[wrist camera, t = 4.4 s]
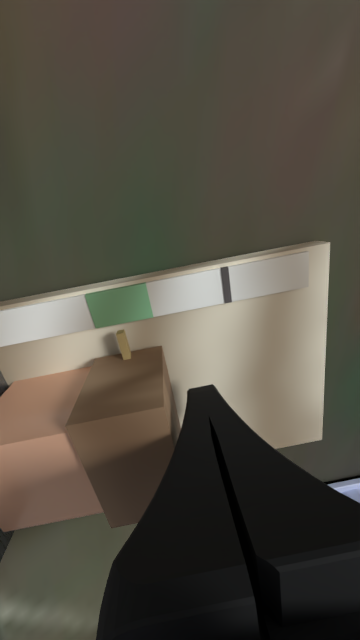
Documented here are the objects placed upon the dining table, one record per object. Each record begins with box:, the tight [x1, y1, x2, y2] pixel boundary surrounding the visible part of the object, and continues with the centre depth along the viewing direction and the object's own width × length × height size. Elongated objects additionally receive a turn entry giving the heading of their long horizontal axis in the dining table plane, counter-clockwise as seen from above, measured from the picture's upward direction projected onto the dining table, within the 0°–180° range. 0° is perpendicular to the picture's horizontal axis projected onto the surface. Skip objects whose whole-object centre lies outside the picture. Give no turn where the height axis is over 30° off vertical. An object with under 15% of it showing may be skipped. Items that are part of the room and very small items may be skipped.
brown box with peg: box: [65, 329, 181, 528], centre depth 10 cm, size 3×6×4 cm, turn 10°
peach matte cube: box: [0, 366, 104, 532], centre depth 11 cm, size 4×4×4 cm
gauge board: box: [0, 241, 330, 449], centre depth 13 cm, size 17×11×1 cm, turn 100°
